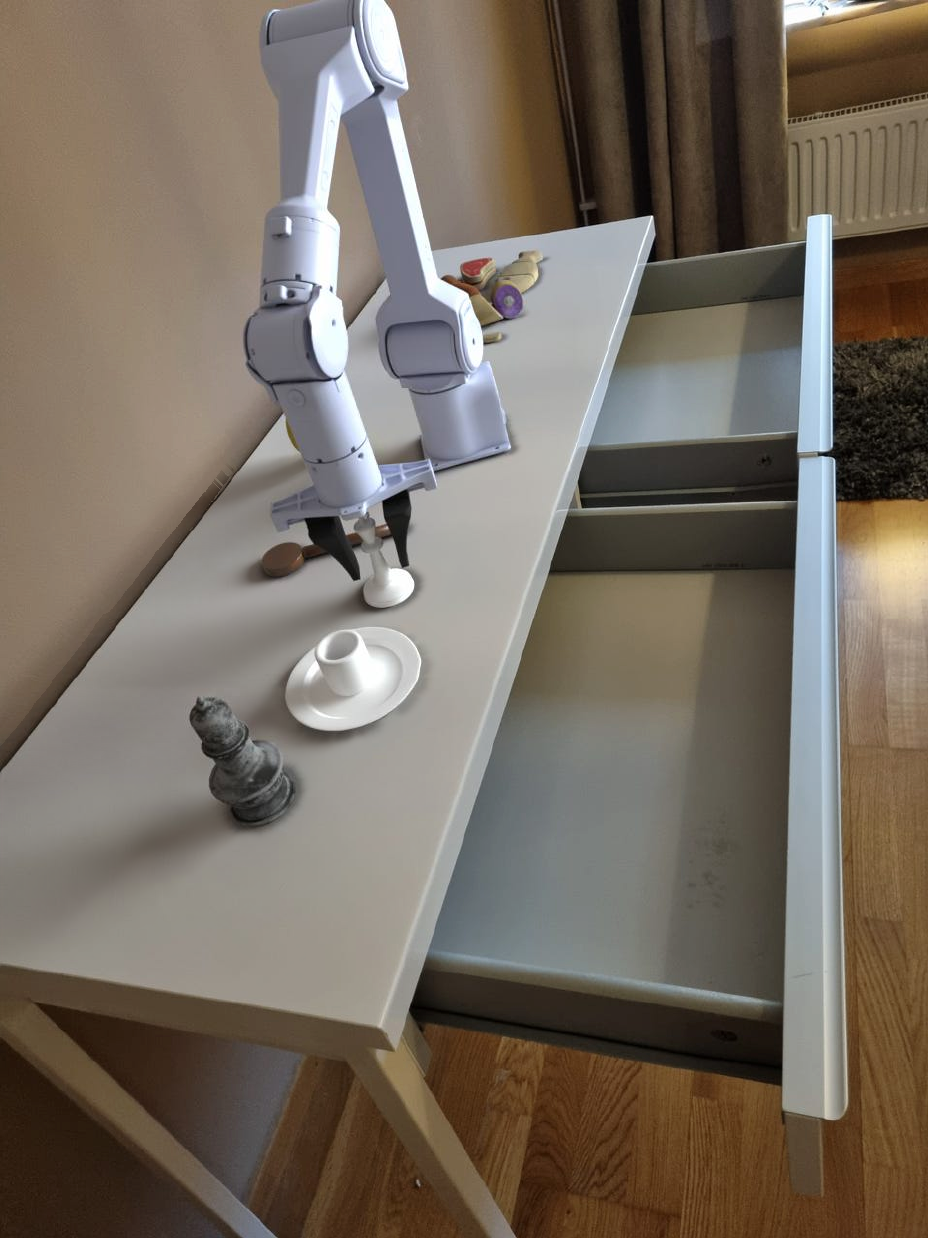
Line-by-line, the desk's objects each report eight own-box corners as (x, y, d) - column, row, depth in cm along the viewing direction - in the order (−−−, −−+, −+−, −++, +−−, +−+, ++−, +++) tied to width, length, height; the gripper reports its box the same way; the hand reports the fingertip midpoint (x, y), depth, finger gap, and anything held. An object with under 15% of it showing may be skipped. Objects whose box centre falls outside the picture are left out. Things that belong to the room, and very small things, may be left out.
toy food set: (517, 339, 117) (511, 310, 114) (401, 352, 122) (393, 325, 119) (544, 257, 134) (540, 230, 132) (443, 272, 139) (436, 247, 136)
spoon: (404, 517, 93) (401, 508, 92) (408, 541, 89) (405, 532, 89) (265, 555, 93) (261, 547, 93) (264, 581, 90) (259, 572, 89)
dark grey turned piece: (231, 775, 72) (165, 676, 64) (300, 760, 71) (242, 658, 63) (223, 837, 67) (150, 738, 59) (296, 821, 67) (233, 719, 59)
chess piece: (395, 612, 82) (362, 527, 75) (354, 601, 84) (319, 518, 78) (423, 578, 85) (395, 493, 78) (383, 569, 87) (352, 486, 80)
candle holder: (450, 667, 75) (438, 631, 72) (344, 760, 70) (326, 725, 67) (363, 615, 83) (349, 580, 80) (262, 696, 78) (243, 662, 75)
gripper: (248, 493, 71) (306, 615, 80) (422, 444, 70) (461, 572, 79) (251, 448, 76) (305, 567, 85) (413, 402, 76) (451, 527, 85)
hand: (380, 567), depth 83 cm, fingers open, 4 cm apart
